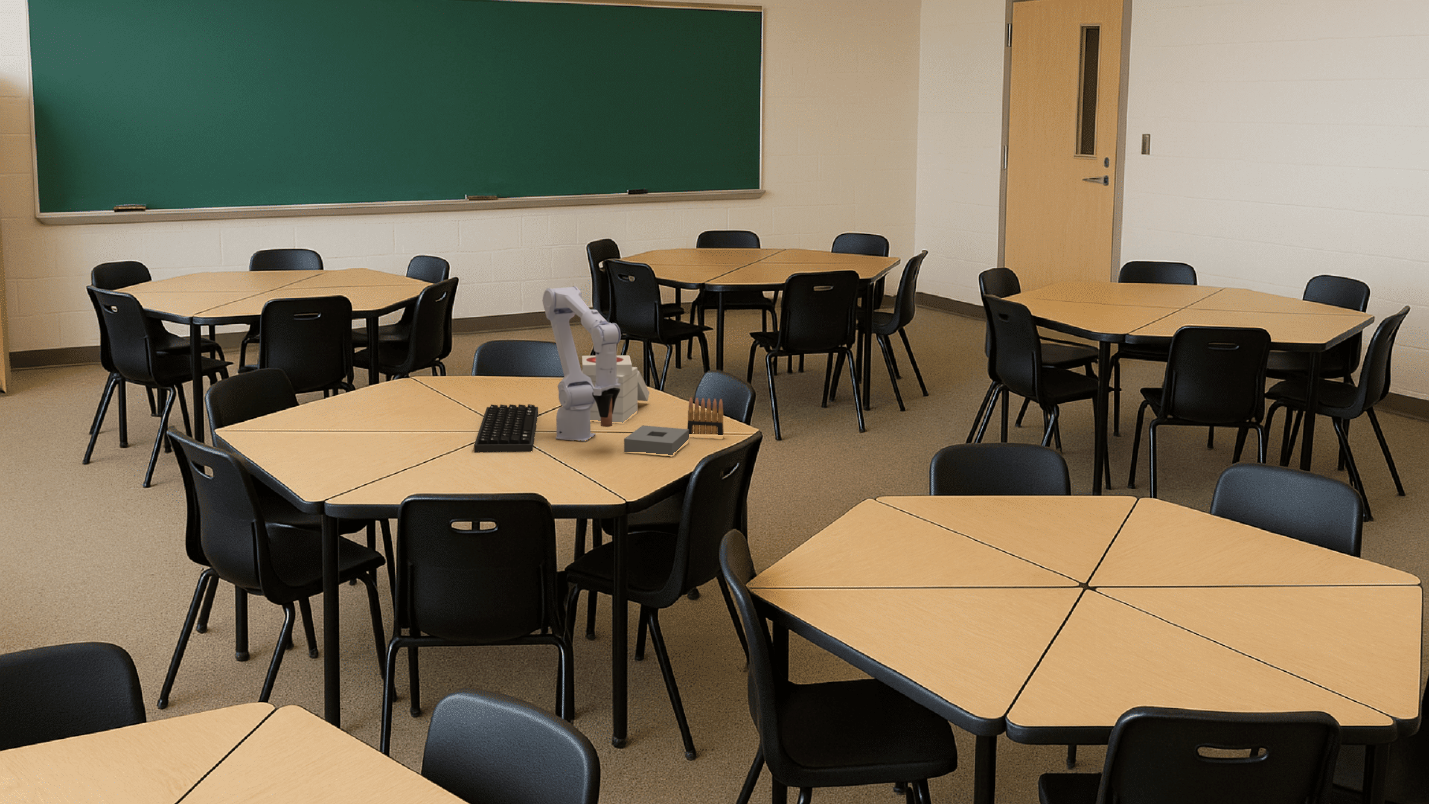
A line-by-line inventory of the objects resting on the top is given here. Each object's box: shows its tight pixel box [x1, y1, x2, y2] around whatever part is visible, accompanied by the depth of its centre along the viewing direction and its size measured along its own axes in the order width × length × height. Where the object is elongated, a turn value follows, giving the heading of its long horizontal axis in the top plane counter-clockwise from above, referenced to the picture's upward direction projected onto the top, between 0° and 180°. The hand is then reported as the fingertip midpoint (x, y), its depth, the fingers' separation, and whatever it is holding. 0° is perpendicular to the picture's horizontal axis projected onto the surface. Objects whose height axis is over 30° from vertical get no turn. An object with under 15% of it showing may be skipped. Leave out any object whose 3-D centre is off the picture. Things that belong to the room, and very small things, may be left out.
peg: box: [600, 399, 613, 428], centre depth 323 cm, size 3×3×8 cm
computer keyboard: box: [473, 403, 539, 453], centre depth 343 cm, size 45×16×4 cm, turn 6°
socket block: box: [623, 425, 690, 455], centre depth 328 cm, size 14×16×4 cm
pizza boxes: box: [581, 354, 650, 423], centre depth 366 cm, size 19×30×18 cm, turn 166°
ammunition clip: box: [686, 397, 724, 435], centre depth 339 cm, size 11×2×12 cm, turn 82°
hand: (606, 415), depth 323 cm, fingers closed on peg, 3 cm apart
